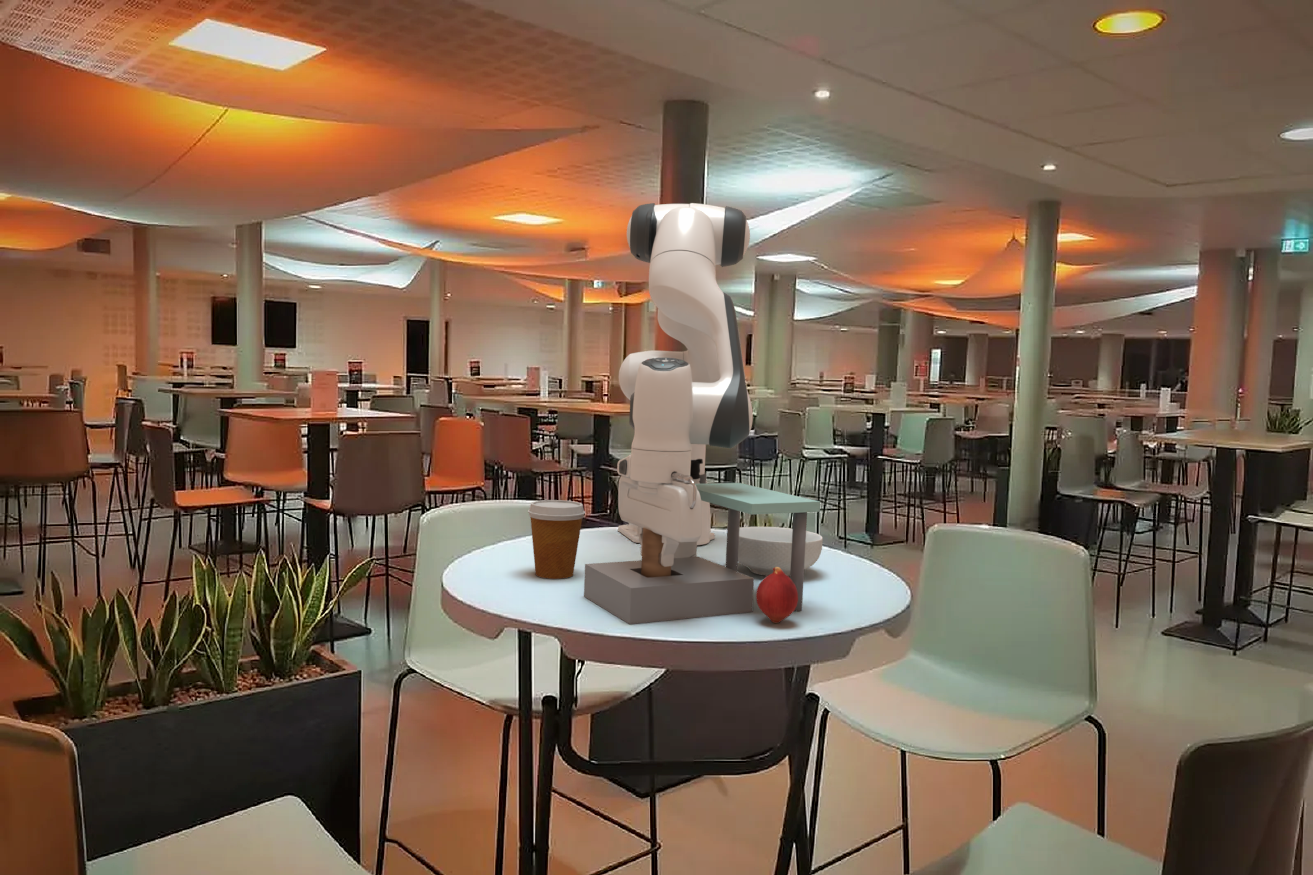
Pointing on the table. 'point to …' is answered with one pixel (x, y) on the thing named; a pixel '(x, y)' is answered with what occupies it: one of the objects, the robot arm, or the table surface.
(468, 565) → the table surface
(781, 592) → the onion
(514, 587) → the table surface
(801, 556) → the awning
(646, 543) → the walnut peg
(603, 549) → the table surface
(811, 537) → the cereal bowl
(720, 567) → the socket block
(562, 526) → the disposable coffee cup
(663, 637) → the table surface
